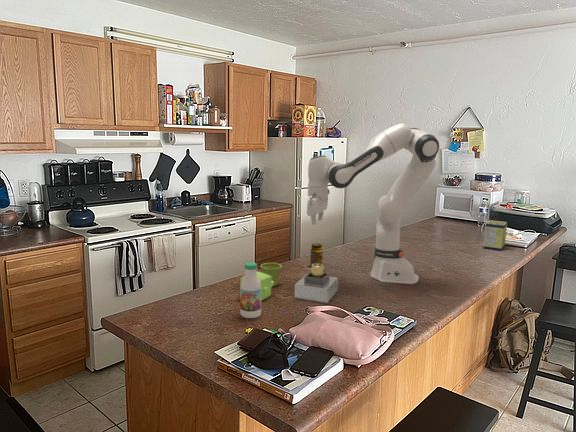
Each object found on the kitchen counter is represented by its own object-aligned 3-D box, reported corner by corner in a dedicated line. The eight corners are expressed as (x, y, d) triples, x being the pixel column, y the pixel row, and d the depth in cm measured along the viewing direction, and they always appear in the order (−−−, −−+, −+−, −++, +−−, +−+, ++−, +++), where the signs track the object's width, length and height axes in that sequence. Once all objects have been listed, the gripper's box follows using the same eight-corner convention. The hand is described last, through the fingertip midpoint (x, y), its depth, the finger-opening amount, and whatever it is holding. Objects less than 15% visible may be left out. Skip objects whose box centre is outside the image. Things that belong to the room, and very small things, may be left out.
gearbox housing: (337, 290, 198) (338, 272, 197) (326, 303, 184) (327, 283, 182) (307, 286, 203) (307, 268, 202) (294, 298, 189) (295, 278, 187)
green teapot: (251, 309, 178) (252, 286, 176) (232, 302, 183) (233, 280, 181) (278, 295, 193) (279, 274, 190) (259, 289, 198) (260, 268, 196)
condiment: (325, 268, 231) (326, 245, 229) (312, 270, 227) (312, 247, 225) (316, 264, 237) (317, 242, 235) (303, 266, 233) (304, 244, 231)
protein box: (504, 246, 284) (507, 221, 281) (501, 251, 271) (504, 225, 268) (487, 243, 290) (489, 219, 287) (482, 248, 277) (485, 223, 274)
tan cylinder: (324, 279, 194) (325, 263, 192) (320, 283, 189) (321, 266, 188) (313, 278, 196) (313, 261, 194) (309, 281, 191) (310, 264, 190)
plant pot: (284, 282, 208) (284, 264, 207) (276, 288, 200) (277, 269, 198) (265, 279, 211) (265, 261, 210) (257, 286, 203) (257, 267, 201)
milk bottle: (240, 310, 174) (240, 260, 171) (260, 310, 175) (261, 260, 171) (240, 319, 167) (240, 266, 163) (261, 318, 167) (261, 266, 164)
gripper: (317, 195, 192) (317, 227, 195) (330, 189, 211) (329, 219, 214) (303, 194, 194) (303, 226, 197) (317, 189, 213) (317, 218, 216)
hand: (317, 222), depth 205 cm, fingers open, 8 cm apart
